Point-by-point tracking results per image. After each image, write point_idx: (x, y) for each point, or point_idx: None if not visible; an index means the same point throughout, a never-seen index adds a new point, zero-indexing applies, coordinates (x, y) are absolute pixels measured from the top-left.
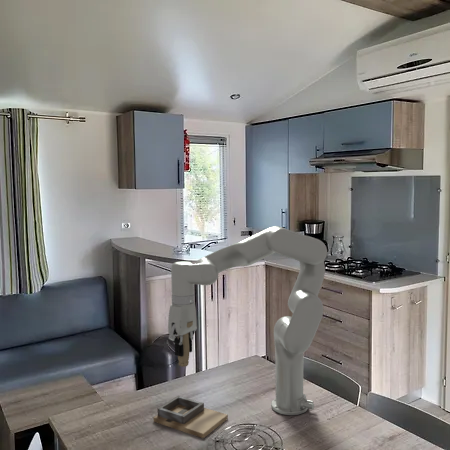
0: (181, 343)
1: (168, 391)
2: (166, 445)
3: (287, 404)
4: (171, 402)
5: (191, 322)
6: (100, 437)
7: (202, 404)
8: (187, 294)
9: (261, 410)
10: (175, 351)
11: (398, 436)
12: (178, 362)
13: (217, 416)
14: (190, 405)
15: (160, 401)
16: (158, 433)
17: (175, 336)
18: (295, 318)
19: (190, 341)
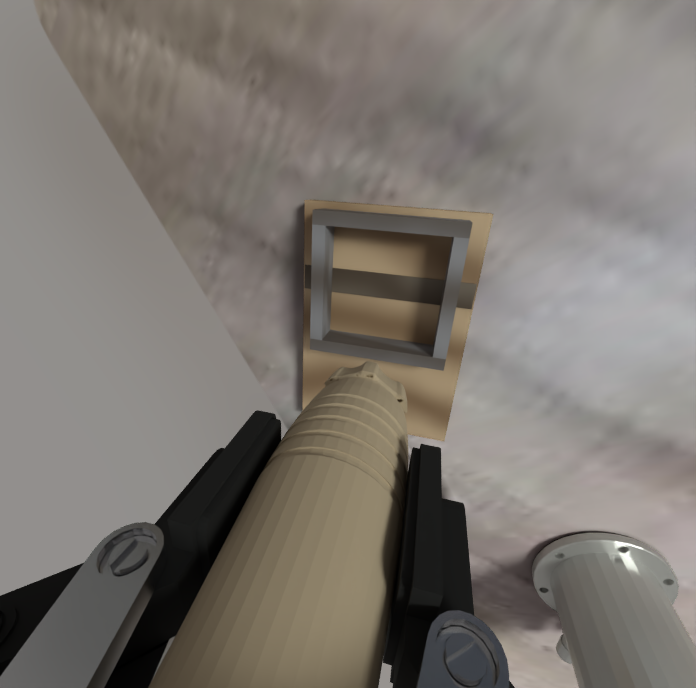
0: (175, 625)
1: (646, 31)
2: (226, 329)
3: (555, 601)
4: (396, 231)
5: None
6: (127, 82)
7: (433, 367)
8: None
9: (545, 508)
10: (211, 458)
11: None
12: (330, 377)
13: (417, 416)
14: (441, 302)
15: (493, 88)
16: (260, 268)
17: None
18: None
19: (389, 662)
